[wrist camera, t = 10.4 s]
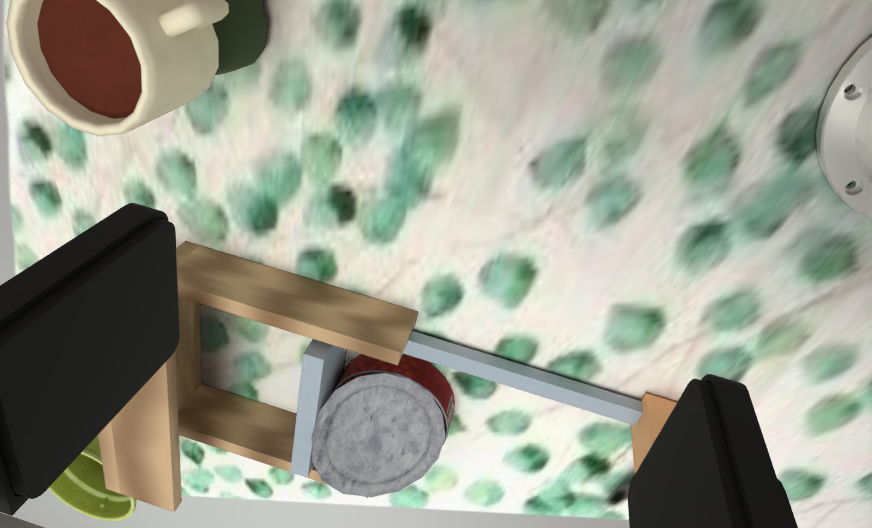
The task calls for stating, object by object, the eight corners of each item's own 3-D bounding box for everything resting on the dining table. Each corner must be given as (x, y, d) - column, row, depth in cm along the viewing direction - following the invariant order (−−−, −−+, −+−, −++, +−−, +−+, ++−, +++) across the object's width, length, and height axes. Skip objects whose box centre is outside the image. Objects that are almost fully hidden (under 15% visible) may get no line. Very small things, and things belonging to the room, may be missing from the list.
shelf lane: (418, 311, 46) (372, 419, 36) (384, 452, 55) (340, 569, 45) (185, 241, 47) (81, 326, 38) (189, 388, 56) (106, 488, 46)
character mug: (272, -81, 34) (123, -76, 23) (324, 44, 37) (213, 101, 26) (130, -13, 38) (-55, 19, 27) (188, 96, 41) (41, 164, 30)
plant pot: (182, 462, 62) (128, 536, 55) (99, 423, 62) (33, 492, 55) (197, 406, 57) (139, 479, 50) (106, 363, 57) (35, 430, 50)
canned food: (360, 333, 55) (299, 352, 45) (467, 344, 51) (424, 367, 42) (356, 456, 55) (295, 500, 46) (461, 475, 52) (418, 527, 42)
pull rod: (685, 405, 45) (700, 480, 39) (617, 516, 52) (621, 593, 46) (335, 298, 47) (298, 354, 41) (318, 419, 54) (285, 481, 48)
